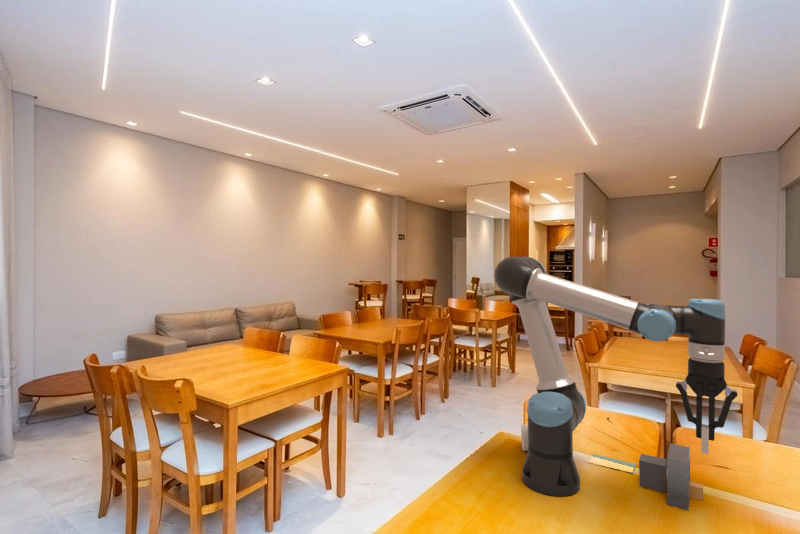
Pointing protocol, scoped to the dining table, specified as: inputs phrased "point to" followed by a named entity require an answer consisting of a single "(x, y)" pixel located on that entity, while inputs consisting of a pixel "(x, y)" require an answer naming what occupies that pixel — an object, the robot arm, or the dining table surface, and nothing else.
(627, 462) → the pad
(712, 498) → the dining table surface
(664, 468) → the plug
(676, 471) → the housing
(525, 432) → the mug
